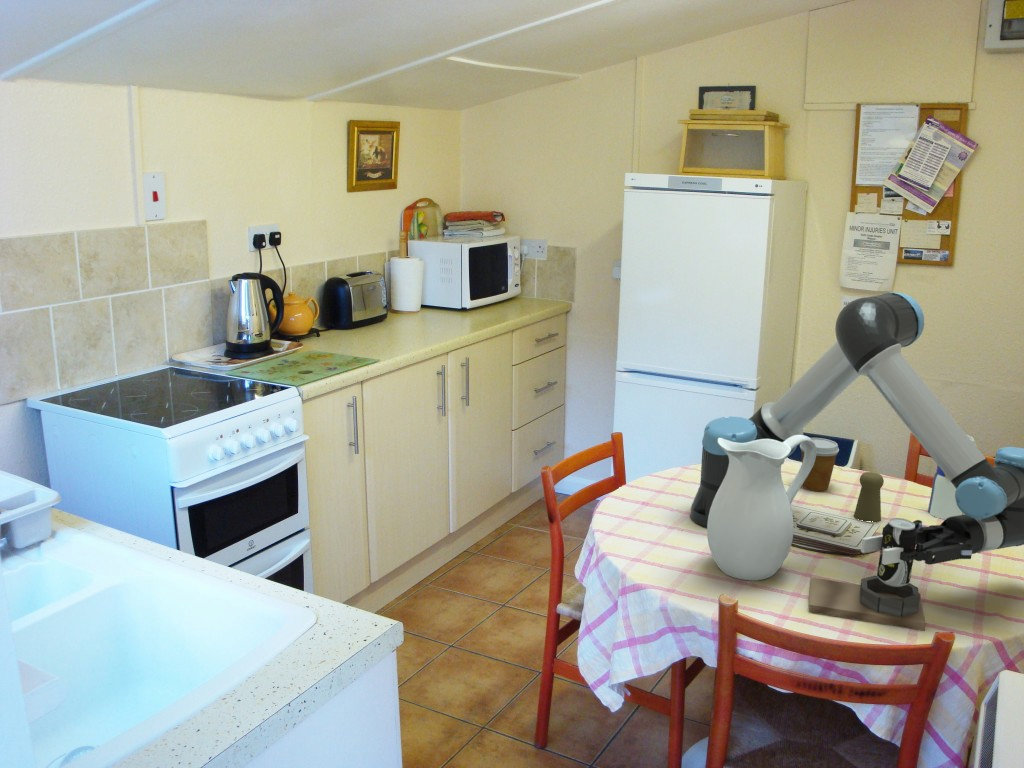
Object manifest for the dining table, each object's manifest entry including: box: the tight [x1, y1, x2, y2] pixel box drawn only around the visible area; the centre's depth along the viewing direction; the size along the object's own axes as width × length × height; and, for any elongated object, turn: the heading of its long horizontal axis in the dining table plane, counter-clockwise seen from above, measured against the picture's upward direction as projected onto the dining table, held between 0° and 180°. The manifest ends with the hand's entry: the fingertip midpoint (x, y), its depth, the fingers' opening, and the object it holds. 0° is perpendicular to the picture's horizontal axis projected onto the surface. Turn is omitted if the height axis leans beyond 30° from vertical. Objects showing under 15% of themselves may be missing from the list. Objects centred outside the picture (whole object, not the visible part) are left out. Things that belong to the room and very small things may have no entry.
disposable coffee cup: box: [799, 437, 840, 492], centre depth 234 cm, size 10×10×12 cm
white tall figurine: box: [927, 421, 977, 520], centre depth 215 cm, size 8×9×25 cm
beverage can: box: [876, 517, 917, 587], centre depth 168 cm, size 6×6×12 cm
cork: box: [853, 471, 885, 523], centre depth 214 cm, size 6×6×11 cm
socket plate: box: [808, 574, 927, 631], centre depth 173 cm, size 20×12×4 cm, turn 71°
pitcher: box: [706, 434, 817, 581], centre depth 186 cm, size 24×17×28 cm
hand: (873, 551), depth 167 cm, fingers closed on beverage can, 5 cm apart
